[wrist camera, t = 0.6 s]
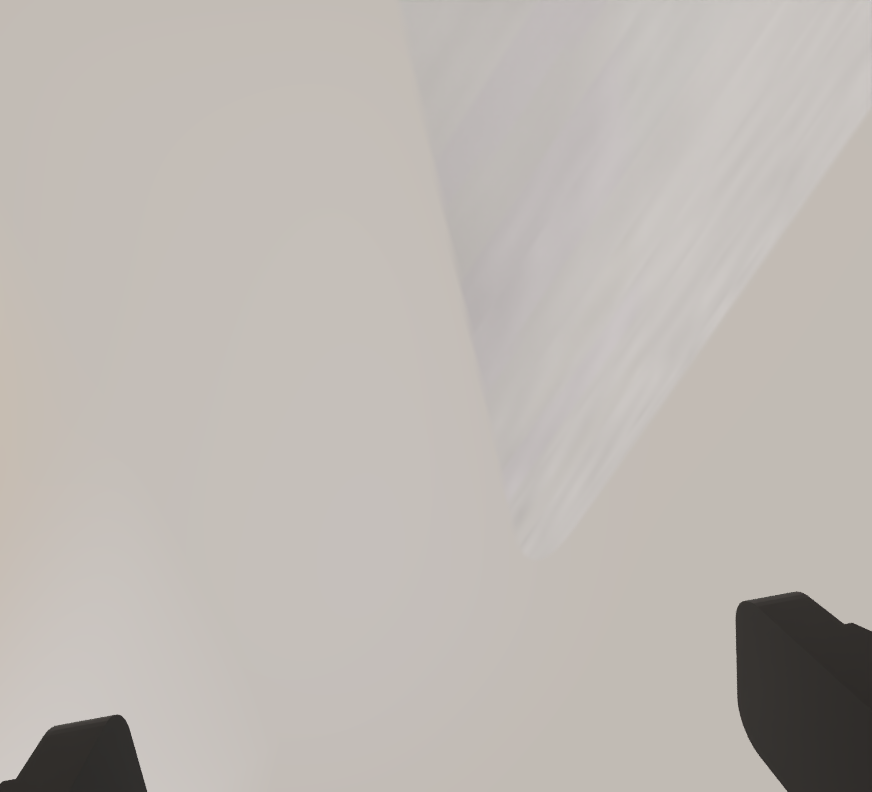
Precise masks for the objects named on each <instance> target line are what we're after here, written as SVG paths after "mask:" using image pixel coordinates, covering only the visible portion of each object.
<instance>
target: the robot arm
mask: <svg viewBox="0 0 872 792" xmlns="http://www.w3.org/2000/svg"><path fill="white" fill-rule="evenodd" d="M736 653H737V695H738V697H737V698H738V707H739V711H740V716H741V720H742V723H743V726H744V728H745V731H746V733H747V735H748V738H749V740H750V742H751V743H752V745H753V747H754V748H755V750H756V752H757V753H758V754H759V756H760V757H761V758H762V759H763V761H764V762H765V763H766V765H767V766H768V767H769V769H770V770H771V771H772V772H773V774H774V775H775V776H776V777H777V779H778V780H779V781H780V782H781V784H782V785H783V786H784V788H785V789H786V790H787V792H872V631H869V630H867V629H865V628H863V627H861V626H858V625H856V624H854V623H849V624H843V623H842V622H841V621H839V620H838V619H837V618H836V617H834V616H833V615H832V614H830V613H829V612H828V611H826V610H825V609H824V608H823V607H821V606H820V605H819V604H818V603H816V602H815V601H814V600H812V599H811V598H810V597H808V596H807V595H806V594H804V593H801V592H791V593H786V594H780V595H775V596H769V597H764V598H758V599H753V600H748V601H743V602H741V603H740V604H739V606H738V608H737V612H736ZM0 792H147V790H146V786H145V783H144V779H143V775H142V772H141V768H140V765H139V761H138V758H137V754H136V750H135V747H134V743H133V740H132V736H131V733H130V729H129V726H128V724H127V722H126V720H125V719H124V718H123V717H122V716H121V715H112V716H107V717H101V718H96V719H90V720H85V721H79V722H74V723H69V724H63V725H58V726H54V727H52V728H51V729H50V730H48V731H47V732H46V734H45V735H44V736H43V738H42V740H41V741H40V743H39V744H38V746H37V747H36V749H35V750H34V752H33V753H32V755H31V757H30V758H29V760H28V761H27V763H26V764H25V766H24V767H23V769H22V770H21V772H20V773H19V775H18V777H17V778H16V779H13V780H8V781H3V782H2V783H1V784H0Z"/></svg>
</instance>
